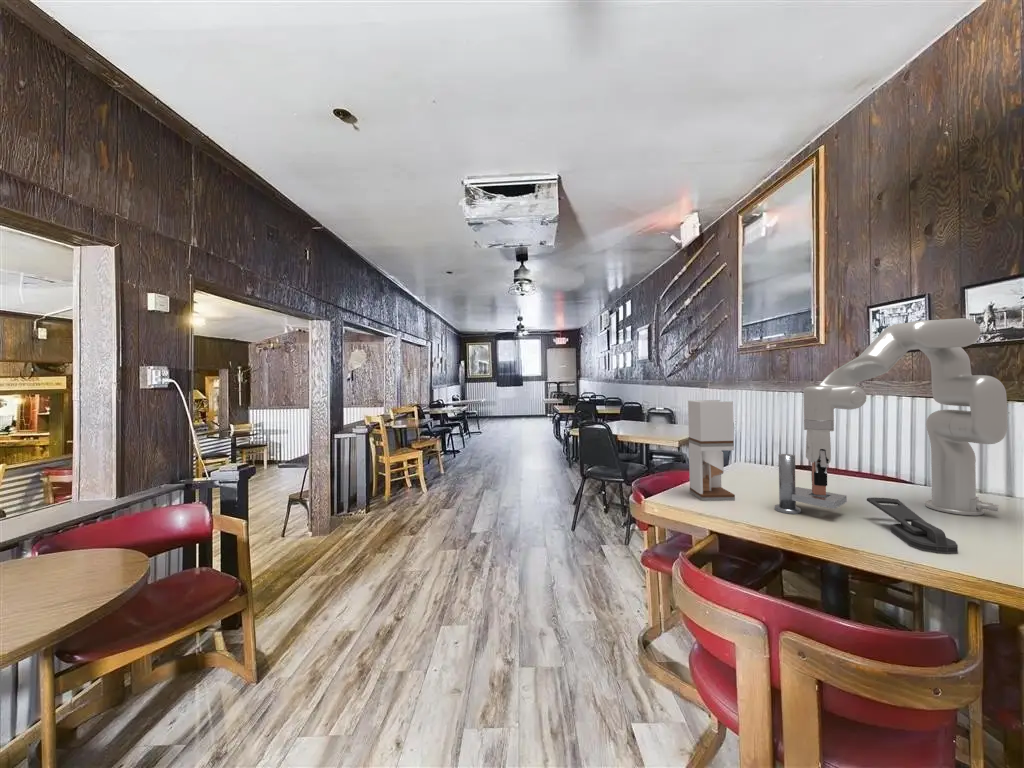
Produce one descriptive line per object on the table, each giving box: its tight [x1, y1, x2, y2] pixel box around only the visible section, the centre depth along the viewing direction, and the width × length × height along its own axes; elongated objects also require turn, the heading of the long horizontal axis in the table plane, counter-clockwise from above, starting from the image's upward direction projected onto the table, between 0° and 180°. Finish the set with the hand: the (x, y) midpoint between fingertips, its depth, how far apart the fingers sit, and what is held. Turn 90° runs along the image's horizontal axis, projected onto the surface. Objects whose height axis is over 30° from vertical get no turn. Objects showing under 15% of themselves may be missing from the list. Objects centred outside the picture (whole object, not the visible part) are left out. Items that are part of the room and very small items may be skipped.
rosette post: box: [774, 453, 848, 515], centre depth 129 cm, size 16×13×18 cm
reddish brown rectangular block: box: [811, 461, 827, 495], centre depth 127 cm, size 3×3×10 cm
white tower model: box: [687, 399, 736, 502], centre depth 148 cm, size 11×11×35 cm
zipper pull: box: [866, 497, 959, 555], centre depth 110 cm, size 9×7×25 cm
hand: (819, 483), depth 127 cm, fingers closed on reddish brown rectangular block, 3 cm apart
